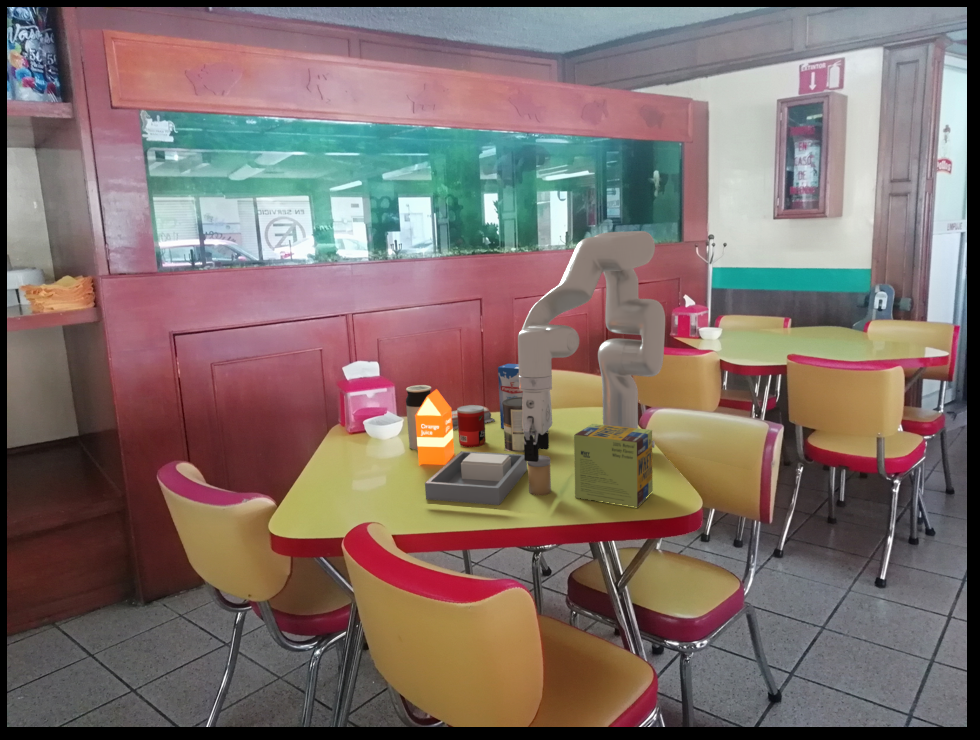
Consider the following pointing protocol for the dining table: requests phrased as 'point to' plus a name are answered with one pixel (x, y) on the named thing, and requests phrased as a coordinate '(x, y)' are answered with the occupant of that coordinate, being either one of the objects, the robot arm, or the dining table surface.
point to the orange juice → (434, 430)
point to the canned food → (471, 426)
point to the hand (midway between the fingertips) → (537, 454)
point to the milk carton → (508, 385)
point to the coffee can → (513, 424)
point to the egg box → (485, 466)
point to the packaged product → (455, 418)
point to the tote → (473, 482)
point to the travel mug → (415, 409)
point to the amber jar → (539, 476)
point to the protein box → (613, 464)
